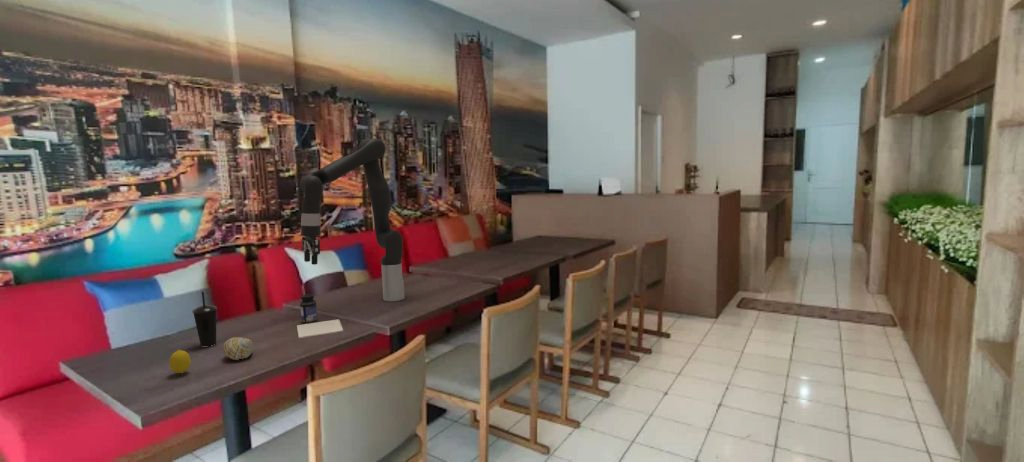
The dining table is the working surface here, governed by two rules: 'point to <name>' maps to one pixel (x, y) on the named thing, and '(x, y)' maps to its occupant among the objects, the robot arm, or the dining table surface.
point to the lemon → (180, 361)
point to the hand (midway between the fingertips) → (310, 262)
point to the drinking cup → (206, 323)
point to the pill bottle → (308, 309)
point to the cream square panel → (319, 328)
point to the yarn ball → (238, 348)
